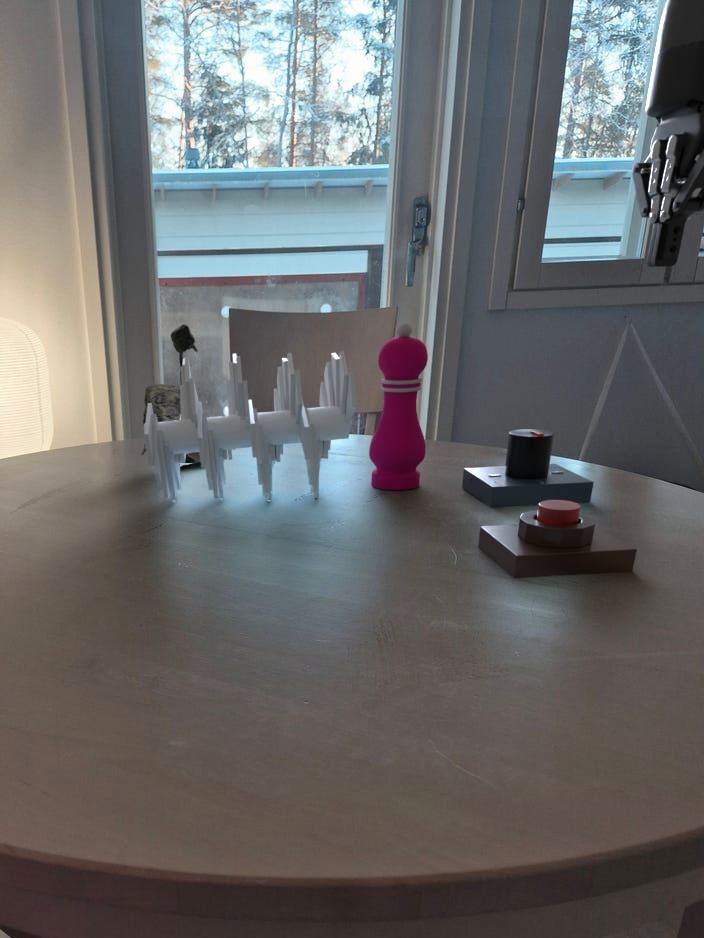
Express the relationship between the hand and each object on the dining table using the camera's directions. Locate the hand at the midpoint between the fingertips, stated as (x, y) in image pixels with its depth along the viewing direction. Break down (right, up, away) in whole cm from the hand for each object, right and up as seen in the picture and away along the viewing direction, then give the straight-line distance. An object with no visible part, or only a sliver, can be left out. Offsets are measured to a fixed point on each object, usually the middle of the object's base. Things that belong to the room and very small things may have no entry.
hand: (660, 266), depth 72 cm
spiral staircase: (-40, -18, +23) cm, 50 cm away
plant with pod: (-50, -9, +43) cm, 66 cm away
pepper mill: (-20, -16, +27) cm, 37 cm away
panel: (-6, -18, +20) cm, 28 cm away
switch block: (-11, -29, -1) cm, 31 cm away
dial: (-6, -16, +19) cm, 25 cm away
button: (-11, -26, -3) cm, 28 cm away
